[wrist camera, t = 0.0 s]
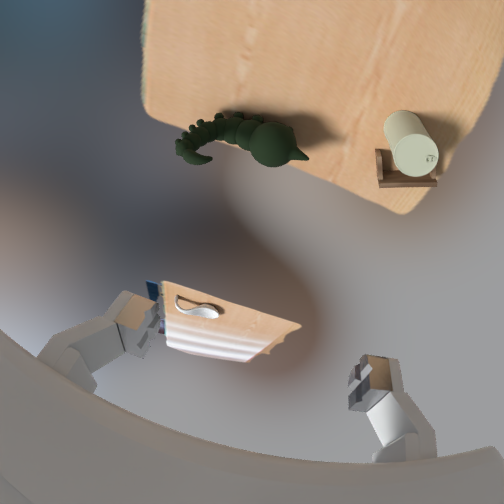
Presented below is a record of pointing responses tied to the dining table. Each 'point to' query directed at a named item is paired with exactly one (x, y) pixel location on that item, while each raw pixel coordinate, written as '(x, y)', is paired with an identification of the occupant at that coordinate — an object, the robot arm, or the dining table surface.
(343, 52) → the dining table surface
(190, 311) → the spoon rest
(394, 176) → the holder
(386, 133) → the can
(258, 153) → the toy figurine
